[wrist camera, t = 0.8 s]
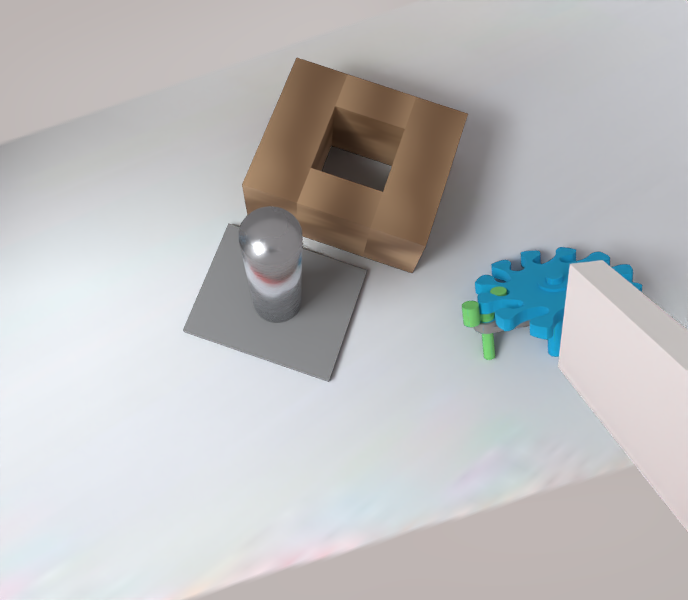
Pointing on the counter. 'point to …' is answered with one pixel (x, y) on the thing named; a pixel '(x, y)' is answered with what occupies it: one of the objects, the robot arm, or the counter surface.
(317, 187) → the hole block
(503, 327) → the gear
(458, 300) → the counter surface
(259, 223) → the peg
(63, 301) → the counter surface
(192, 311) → the mat
